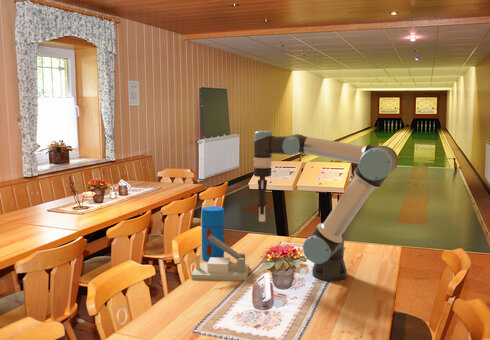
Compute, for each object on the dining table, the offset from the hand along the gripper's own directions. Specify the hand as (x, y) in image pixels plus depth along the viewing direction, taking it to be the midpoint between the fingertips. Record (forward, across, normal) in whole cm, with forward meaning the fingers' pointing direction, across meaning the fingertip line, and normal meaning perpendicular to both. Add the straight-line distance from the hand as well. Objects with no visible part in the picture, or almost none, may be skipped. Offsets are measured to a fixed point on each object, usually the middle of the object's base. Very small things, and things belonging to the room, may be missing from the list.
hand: (262, 220), depth 212 cm
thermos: (+25, -20, -24) cm, 40 cm away
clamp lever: (+14, 0, -16) cm, 21 cm away
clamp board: (+25, 0, -18) cm, 30 cm away
